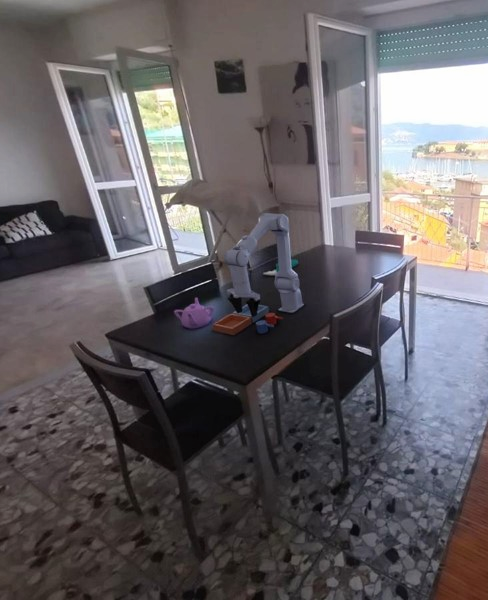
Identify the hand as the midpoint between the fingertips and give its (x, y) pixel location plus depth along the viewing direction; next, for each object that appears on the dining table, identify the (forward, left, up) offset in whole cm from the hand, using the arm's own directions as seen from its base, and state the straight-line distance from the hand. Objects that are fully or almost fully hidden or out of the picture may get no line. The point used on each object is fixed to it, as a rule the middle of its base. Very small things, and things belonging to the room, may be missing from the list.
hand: (247, 314), depth 137 cm
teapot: (-1, -29, -10) cm, 31 cm away
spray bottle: (-71, -38, -10) cm, 81 cm away
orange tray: (-3, -12, -10) cm, 16 cm away
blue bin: (-15, -12, -10) cm, 22 cm away
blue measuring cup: (-5, +4, -10) cm, 12 cm away
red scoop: (-12, +3, -10) cm, 16 cm away
